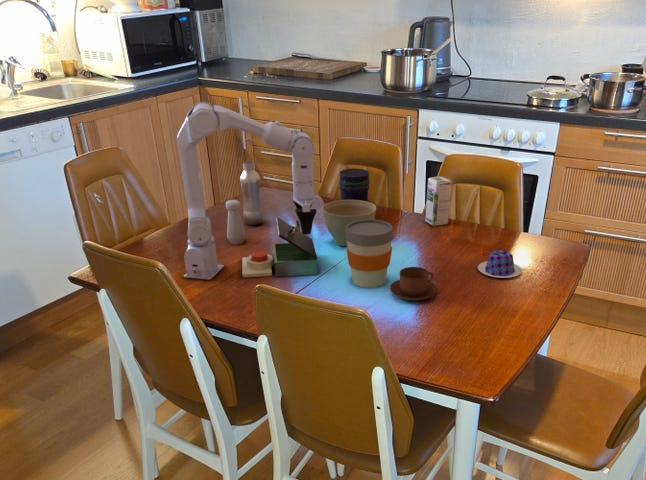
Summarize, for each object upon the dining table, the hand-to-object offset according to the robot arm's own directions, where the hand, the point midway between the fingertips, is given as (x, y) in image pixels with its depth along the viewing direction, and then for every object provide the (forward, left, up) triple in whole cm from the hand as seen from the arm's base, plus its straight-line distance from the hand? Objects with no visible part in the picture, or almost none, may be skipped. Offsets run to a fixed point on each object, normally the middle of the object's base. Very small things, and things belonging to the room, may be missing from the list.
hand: (305, 229), depth 179 cm
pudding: (+6, -54, -10) cm, 55 cm away
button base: (-7, +13, -10) cm, 18 cm away
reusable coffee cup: (-8, -20, -10) cm, 24 cm away
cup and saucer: (-14, -33, -10) cm, 37 cm away
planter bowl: (+19, -8, -10) cm, 23 cm away
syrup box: (+42, -32, -10) cm, 54 cm away
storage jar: (+42, -4, -10) cm, 43 cm away
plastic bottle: (+28, +27, -10) cm, 40 cm away
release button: (-6, +12, -8) cm, 16 cm away
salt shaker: (+11, +26, -10) cm, 30 cm away
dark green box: (-3, +3, -10) cm, 11 cm away
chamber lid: (-2, +2, -2) cm, 4 cm away
